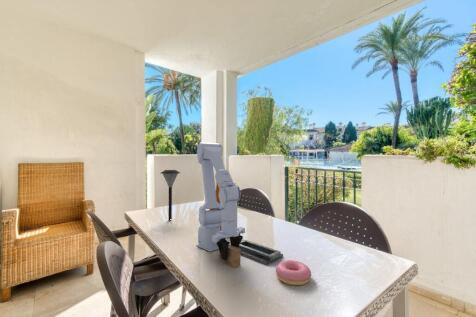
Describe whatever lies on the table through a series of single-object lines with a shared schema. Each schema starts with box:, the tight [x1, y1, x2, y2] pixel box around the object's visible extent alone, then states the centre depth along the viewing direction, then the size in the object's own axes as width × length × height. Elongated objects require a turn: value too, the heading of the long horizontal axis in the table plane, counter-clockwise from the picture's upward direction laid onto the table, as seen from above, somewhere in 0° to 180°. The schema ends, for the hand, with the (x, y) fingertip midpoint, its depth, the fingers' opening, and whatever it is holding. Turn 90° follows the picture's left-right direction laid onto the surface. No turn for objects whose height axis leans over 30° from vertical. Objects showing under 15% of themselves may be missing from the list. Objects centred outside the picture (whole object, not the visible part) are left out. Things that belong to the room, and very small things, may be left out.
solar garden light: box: [160, 169, 181, 221], centre depth 139 cm, size 12×12×30 cm
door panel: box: [217, 244, 242, 269], centre depth 83 cm, size 9×2×6 cm, turn 46°
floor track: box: [239, 239, 284, 266], centre depth 91 cm, size 18×10×2 cm, turn 46°
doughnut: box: [275, 259, 312, 286], centre depth 73 cm, size 11×11×4 cm
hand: (229, 257), depth 83 cm, fingers open, 4 cm apart
